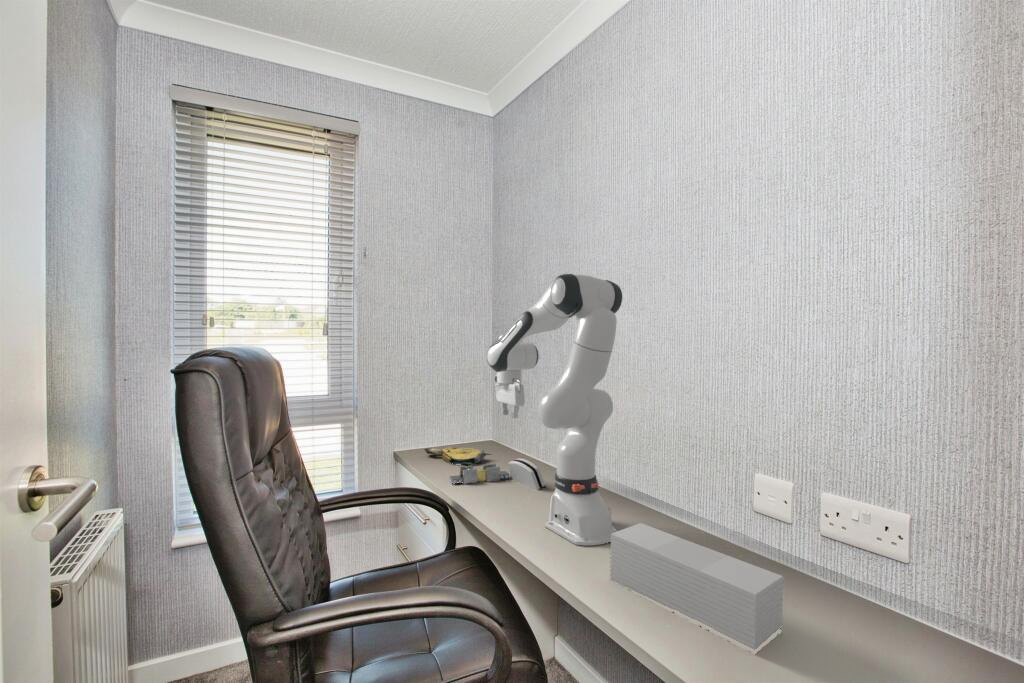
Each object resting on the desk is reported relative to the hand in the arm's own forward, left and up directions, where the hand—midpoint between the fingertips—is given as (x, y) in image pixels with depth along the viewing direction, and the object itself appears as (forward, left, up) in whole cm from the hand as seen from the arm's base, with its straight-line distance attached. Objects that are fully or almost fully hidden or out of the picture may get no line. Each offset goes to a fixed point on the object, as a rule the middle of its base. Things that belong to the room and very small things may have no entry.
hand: (510, 416), depth 178 cm
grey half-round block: (0, -6, -25) cm, 26 cm away
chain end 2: (+9, +2, -25) cm, 26 cm away
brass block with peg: (+8, +9, -25) cm, 28 cm away
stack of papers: (-86, -7, -26) cm, 90 cm away
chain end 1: (+9, +16, -25) cm, 31 cm away
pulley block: (+41, +10, -26) cm, 49 cm away
